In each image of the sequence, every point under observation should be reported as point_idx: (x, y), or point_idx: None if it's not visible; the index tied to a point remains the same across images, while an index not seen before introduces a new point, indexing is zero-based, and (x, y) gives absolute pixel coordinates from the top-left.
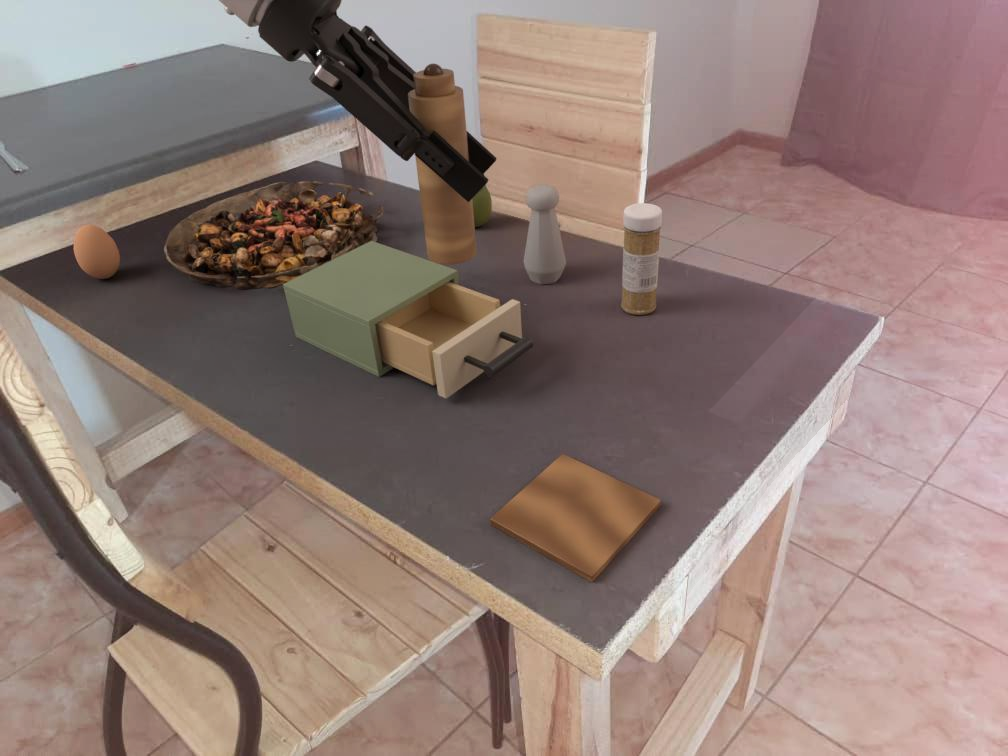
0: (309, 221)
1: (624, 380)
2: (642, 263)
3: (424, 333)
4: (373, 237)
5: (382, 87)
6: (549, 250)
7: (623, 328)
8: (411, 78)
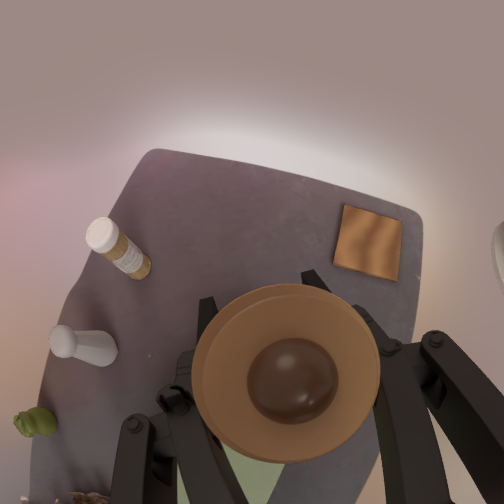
0: None
1: (235, 252)
2: (131, 245)
3: None
4: (95, 495)
5: (436, 471)
6: (100, 339)
7: (169, 270)
8: (148, 502)
